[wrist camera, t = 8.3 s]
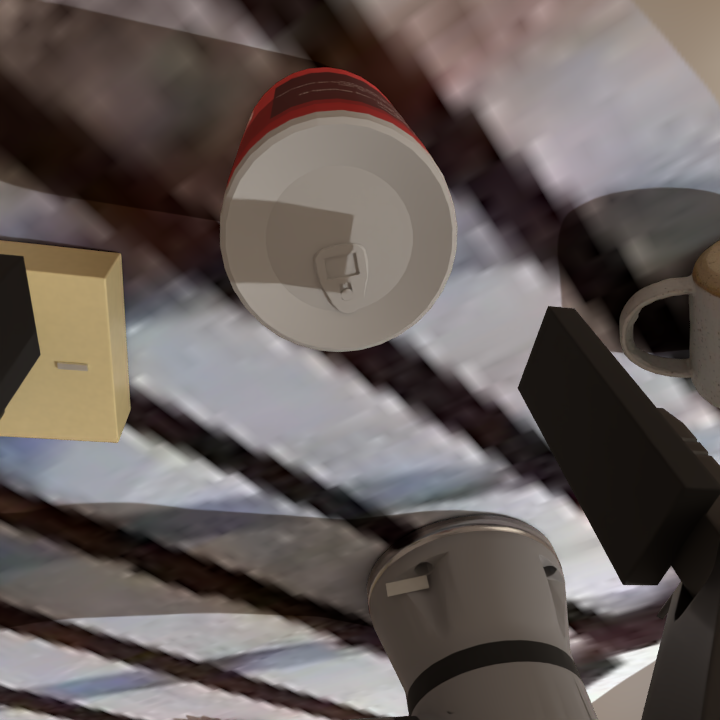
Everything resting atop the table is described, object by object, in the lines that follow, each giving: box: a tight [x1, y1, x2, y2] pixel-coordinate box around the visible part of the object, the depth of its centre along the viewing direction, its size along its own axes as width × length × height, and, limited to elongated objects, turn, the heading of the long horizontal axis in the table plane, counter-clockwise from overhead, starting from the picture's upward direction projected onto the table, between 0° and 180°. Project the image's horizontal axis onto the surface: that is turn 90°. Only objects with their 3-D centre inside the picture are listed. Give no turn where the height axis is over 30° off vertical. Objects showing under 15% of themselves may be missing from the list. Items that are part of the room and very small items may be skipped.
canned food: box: [220, 67, 457, 352], centre depth 23 cm, size 8×8×11 cm
